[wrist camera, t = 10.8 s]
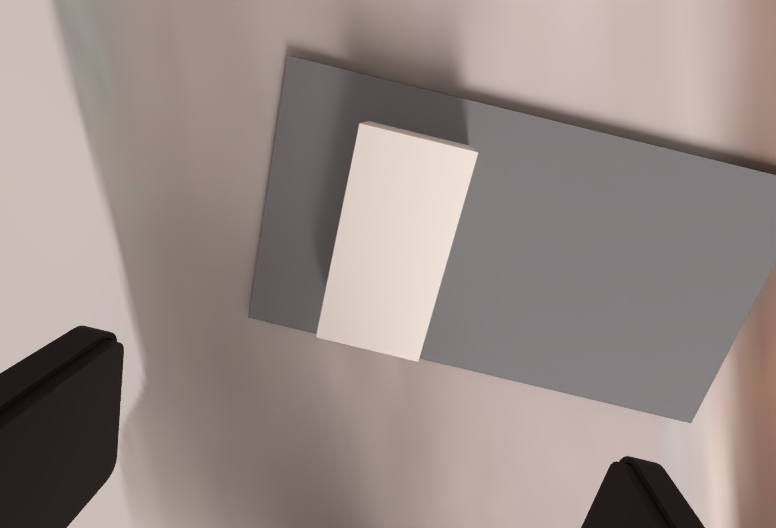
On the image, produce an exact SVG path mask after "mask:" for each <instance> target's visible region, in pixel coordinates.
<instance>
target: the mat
mask: <svg viewBox="0 0 776 528" xmlns="http://www.w3.org/2000/svg"><path fill="white" fill-rule="evenodd" d="M368 121H371V122H375V123H379V124H383V125H388V126H392V127H396V128H400V129H404V130H408V131H412V132H416V133H420V134H424V135H428V136H432V137H437V138H441V139H445V140H449V141H453V142H457V143H461V144H465V145H469V146H470V147H472V148H473V149H474V150H476V151H477V152H478V156H477V159H476V163H475V166H474V170H473V173H472V177H471V180H470V184H469V187H468V191H467V194H466V197H465V201H464V204H463V208H462V211H461V215H460V218H459V222H458V225H457V229H456V232H455V236H454V239H453V243H452V246H451V250H450V253H449V257H448V260H447V264H446V267H445V271H444V274H443V277H442V281H441V284H440V288H439V291H438V295H437V298H436V302H435V305H434V309H433V312H432V316H431V319H430V323H429V326H428V330H427V333H426V337H425V340H424V344H423V347H422V351H421V354H420V359H425V360H429V361H433V362H437V363H441V364H445V365H450V366H454V367H458V368H462V369H466V370H471V371H475V372H479V373H483V374H487V375H491V376H496V377H500V378H504V379H508V380H512V381H517V382H521V383H525V384H529V385H533V386H538V387H542V388H546V389H550V390H554V391H558V392H563V393H567V394H571V395H575V396H579V397H584V398H588V399H592V400H596V401H600V402H604V403H609V404H613V405H617V406H621V407H625V408H630V409H634V410H638V411H642V412H646V413H650V414H655V415H659V416H663V417H667V418H671V419H676V420H680V421H684V422H688V423H691V422H692V420H693V419H694V417H695V415H696V413H697V411H698V409H699V407H700V405H701V403H702V401H703V399H704V398H705V396H706V394H707V392H708V390H709V388H710V386H711V384H712V382H713V380H714V379H715V377H716V375H717V373H718V371H719V369H720V367H721V365H722V363H723V361H724V359H725V358H726V356H727V354H728V352H729V350H730V348H731V346H732V344H733V342H734V340H735V339H736V337H737V335H738V333H739V331H740V329H741V327H742V325H743V323H744V321H745V319H746V318H747V316H748V314H749V312H750V310H751V308H752V306H753V304H754V302H755V300H756V299H757V297H758V295H759V293H760V291H761V289H762V287H763V285H764V283H765V281H766V279H767V278H768V276H769V274H770V272H771V270H772V268H773V266H774V264H775V262H776V175H773V174H769V173H765V172H761V171H757V170H753V169H749V168H745V167H741V166H737V165H732V164H728V163H724V162H720V161H716V160H712V159H708V158H704V157H700V156H696V155H692V154H688V153H684V152H679V151H675V150H671V149H667V148H663V147H659V146H655V145H651V144H647V143H643V142H639V141H635V140H631V139H626V138H622V137H618V136H614V135H610V134H606V133H602V132H598V131H594V130H590V129H586V128H582V127H577V126H573V125H569V124H565V123H561V122H557V121H553V120H549V119H545V118H541V117H537V116H533V115H529V114H524V113H520V112H516V111H512V110H508V109H504V108H500V107H496V106H492V105H488V104H484V103H480V102H476V101H471V100H467V99H463V98H459V97H455V96H451V95H447V94H443V93H439V92H435V91H431V90H427V89H422V88H418V87H414V86H410V85H406V84H402V83H398V82H394V81H390V80H386V79H382V78H378V77H374V76H369V75H365V74H361V73H357V72H353V71H349V70H345V69H341V68H337V67H333V66H329V65H325V64H321V63H316V62H312V61H308V60H304V59H300V58H296V57H292V56H288V55H287V61H286V68H285V75H284V81H283V88H282V95H281V101H280V108H279V115H278V122H277V128H276V135H275V142H274V148H273V155H272V162H271V168H270V175H269V182H268V189H267V195H266V202H265V209H264V215H263V222H262V229H261V235H260V242H259V249H258V256H257V262H256V269H255V276H254V282H253V289H252V296H251V302H250V309H249V316H248V317H249V318H253V319H257V320H261V321H266V322H270V323H274V324H278V325H282V326H287V327H291V328H295V329H299V330H303V331H307V332H312V333H316V334H317V329H318V325H319V320H320V315H321V310H322V305H323V300H324V295H325V290H326V285H327V280H328V275H329V271H330V266H331V261H332V256H333V251H334V246H335V241H336V236H337V231H338V226H339V221H340V217H341V212H342V207H343V202H344V197H345V192H346V187H347V182H348V177H349V172H350V168H351V163H352V158H353V153H354V148H355V143H356V138H357V133H358V128H359V123H363V122H368Z"/></svg>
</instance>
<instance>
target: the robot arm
mask: <svg viewBox="0 0 776 528" xmlns="http://www.w3.org/2000/svg"><path fill="white" fill-rule="evenodd" d="M123 355H124V349H123V345H122V344H121V343H119V342H117V338H116V336H115V334H113V333H111V332H108V331H104V330H99V329H95V328H91V327H87V326H78V327H76V328H74V329H72V330H71V331H69V332H67V333H66V334H64V335H63V336H61V337H59V338H58V339H56V340H54V341H53V342H51V343H49V344H48V345H46V346H44V347H43V348H41V349H40V350H38V351H36V352H35V353H33V354H31V355H30V356H28V357H26V358H25V359H23V360H22V361H20V362H18V363H17V364H15V365H13V366H12V367H10V368H8V369H7V370H5V371H4V372H2V373H0V528H67V526H68V525H69V524H70V523H71V522H72V520H74V518H75V517H76V516H77V515H78V514H79V512H80V511H81V510H82V509H83V508H84V506H85V505H86V504H87V503H88V502H89V501H90V500H91V499H92V497H93V496H94V495H95V494H96V493H97V492H98V490H99V489H100V488H101V487H102V486H103V485H104V483H105V482H106V481H107V480H108V478H109V477H110V475H111V474H112V471H113V469H114V467H115V464H116V459H117V447H118V431H119V416H120V401H121V385H122V370H123ZM581 528H705V527H704V526H703V524H702V523H701V521H700V520H699V518H698V517H697V516H696V514H695V513H694V511H693V510H692V508H691V507H690V506H689V504H688V503H687V501H686V500H685V498H684V497H683V495H682V494H681V493H680V491H679V490H678V488H677V487H676V485H675V484H674V482H673V481H672V480H671V478H670V477H669V475H668V474H667V472H666V471H665V469H664V468H663V467H662V466H661V465H660V464H657V463H654V462H650V461H646V460H642V459H638V458H634V457H629V456H626V457H623V458H622V459H621V460H620V461H619V462H613V463H612V464H611V465H610V467H609V469H608V471H607V473H606V475H605V478H604V480H603V482H602V484H601V486H600V488H599V491H598V493H597V495H596V497H595V499H594V501H593V504H592V506H591V508H590V510H589V512H588V514H587V516H586V519H585V521H584V523H583V525H582V527H581Z"/></svg>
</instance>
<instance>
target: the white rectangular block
mask: <svg viewBox="0 0 776 528" xmlns="http://www.w3.org/2000/svg"><path fill="white" fill-rule="evenodd" d="M477 156H478V152H477V151H476V150H474V149H473V148H472V147H470V146H469V145H465V144H461V143H457V142H453V141H449V140H445V139H441V138H437V137H432V136H428V135H424V134H420V133H416V132H412V131H408V130H404V129H400V128H396V127H392V126H388V125H383V124H379V123H375V122H371V121H368V122H363V123H359V128H358V133H357V138H356V143H355V148H354V153H353V158H352V163H351V168H350V172H349V177H348V182H347V187H346V192H345V197H344V202H343V207H342V212H341V217H340V221H339V226H338V231H337V236H336V241H335V246H334V251H333V256H332V261H331V266H330V271H329V275H328V280H327V285H326V290H325V295H324V300H323V305H322V310H321V315H320V320H319V325H318V329H317V334H316V337H317V338H321V339H325V340H329V341H333V342H337V343H342V344H346V345H350V346H354V347H358V348H363V349H367V350H371V351H375V352H379V353H383V354H388V355H392V356H396V357H400V358H404V359H408V360H413V361H417V362H418V361H419V358H420V354H421V351H422V347H423V344H424V340H425V337H426V333H427V330H428V326H429V323H430V319H431V316H432V312H433V309H434V305H435V302H436V298H437V295H438V291H439V288H440V284H441V281H442V277H443V274H444V271H445V267H446V264H447V260H448V257H449V253H450V250H451V246H452V243H453V239H454V236H455V232H456V229H457V225H458V222H459V218H460V215H461V211H462V208H463V204H464V201H465V197H466V194H467V191H468V187H469V184H470V180H471V177H472V173H473V170H474V166H475V163H476V159H477Z"/></svg>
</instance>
